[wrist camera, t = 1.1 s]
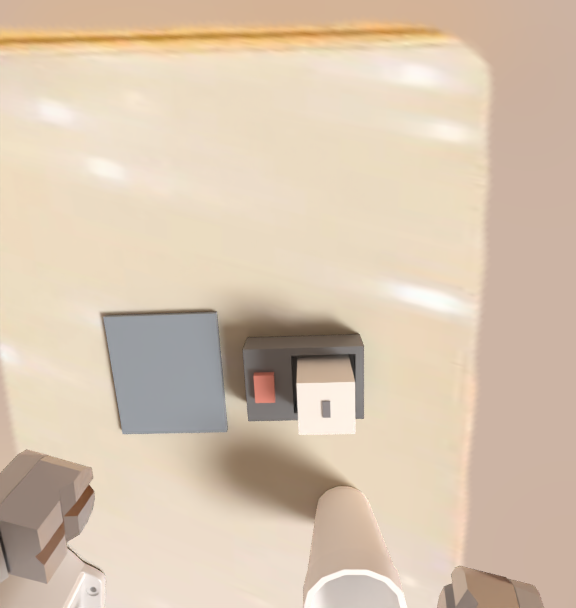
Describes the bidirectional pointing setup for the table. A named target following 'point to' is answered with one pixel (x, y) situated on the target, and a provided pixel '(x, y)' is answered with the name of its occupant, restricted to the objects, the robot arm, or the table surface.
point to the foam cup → (349, 556)
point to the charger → (325, 395)
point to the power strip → (292, 372)
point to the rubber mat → (167, 372)
